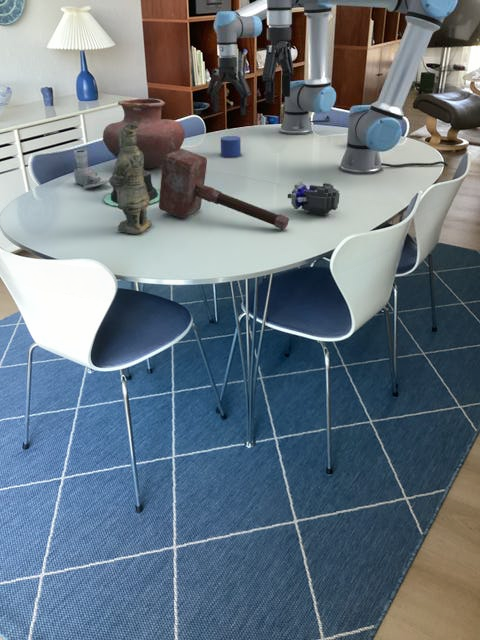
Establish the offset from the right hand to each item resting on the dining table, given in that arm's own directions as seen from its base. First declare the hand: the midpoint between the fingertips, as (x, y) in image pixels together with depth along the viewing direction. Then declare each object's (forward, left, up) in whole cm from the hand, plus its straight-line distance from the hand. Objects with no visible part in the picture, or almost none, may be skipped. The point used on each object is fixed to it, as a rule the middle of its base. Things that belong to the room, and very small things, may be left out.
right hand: (278, 99), depth 181 cm
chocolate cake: (+48, +12, -28) cm, 57 cm away
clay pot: (+50, -26, -28) cm, 63 cm away
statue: (+43, +41, -28) cm, 66 cm away
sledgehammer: (+17, +35, -28) cm, 48 cm away
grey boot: (+66, -2, -28) cm, 72 cm away
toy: (-10, +29, -28) cm, 42 cm away
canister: (+18, -43, -28) cm, 55 cm away
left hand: (+18, -46, -12) cm, 51 cm away
